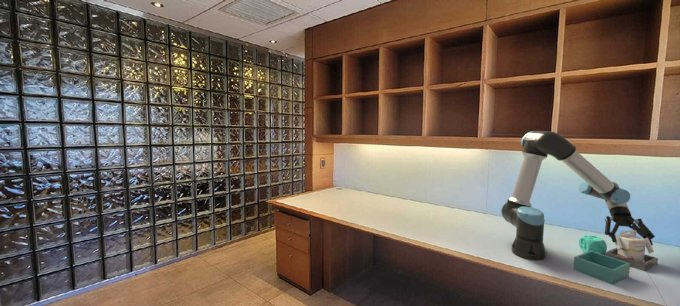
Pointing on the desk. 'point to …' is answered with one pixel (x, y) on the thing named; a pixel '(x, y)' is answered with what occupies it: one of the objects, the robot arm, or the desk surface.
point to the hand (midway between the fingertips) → (635, 250)
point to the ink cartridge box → (632, 246)
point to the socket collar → (641, 266)
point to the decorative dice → (592, 244)
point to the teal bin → (602, 267)
